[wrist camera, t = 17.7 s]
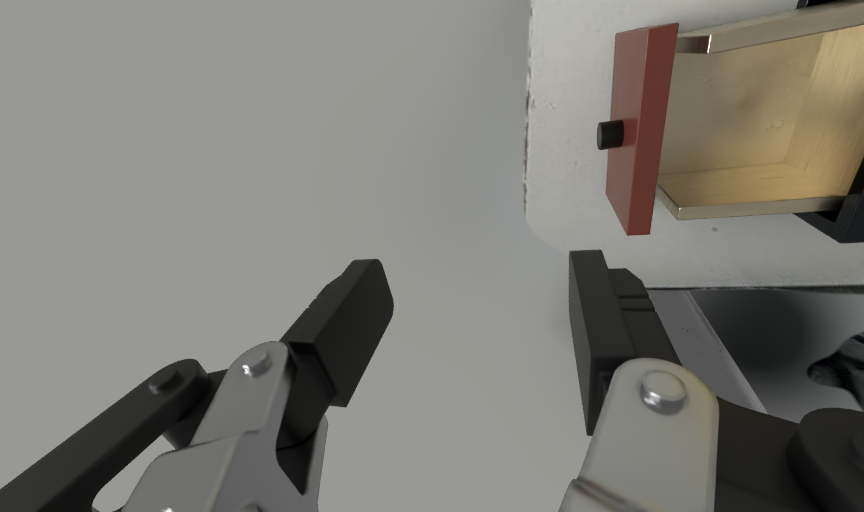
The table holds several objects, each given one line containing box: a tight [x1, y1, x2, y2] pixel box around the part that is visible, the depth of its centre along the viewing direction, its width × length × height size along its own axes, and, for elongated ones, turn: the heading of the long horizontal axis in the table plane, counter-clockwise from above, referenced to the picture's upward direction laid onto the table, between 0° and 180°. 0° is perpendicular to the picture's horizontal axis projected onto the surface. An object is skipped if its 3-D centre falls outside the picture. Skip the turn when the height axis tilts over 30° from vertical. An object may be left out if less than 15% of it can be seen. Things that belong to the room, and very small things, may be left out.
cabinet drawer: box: [597, 0, 864, 236], centre depth 19 cm, size 12×10×7 cm
